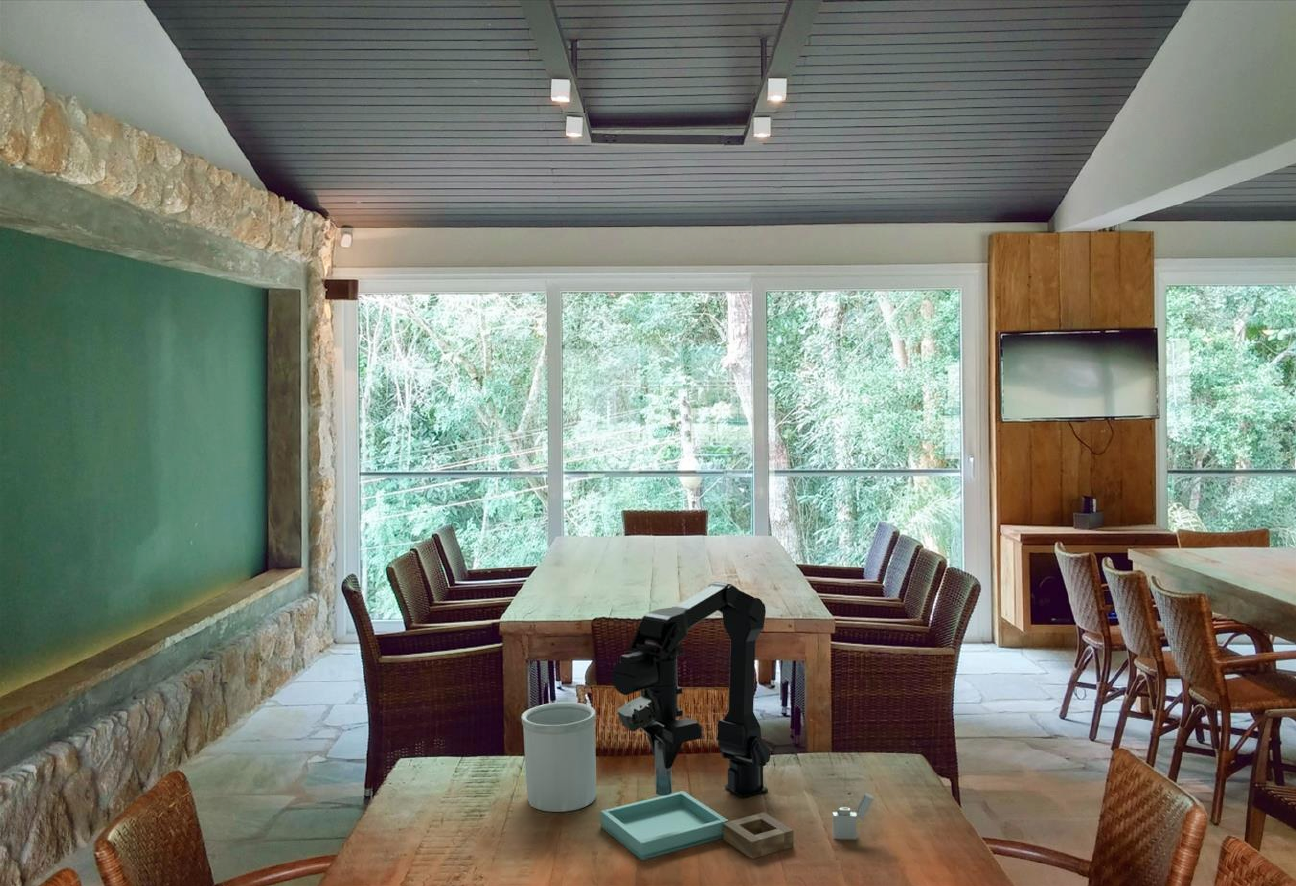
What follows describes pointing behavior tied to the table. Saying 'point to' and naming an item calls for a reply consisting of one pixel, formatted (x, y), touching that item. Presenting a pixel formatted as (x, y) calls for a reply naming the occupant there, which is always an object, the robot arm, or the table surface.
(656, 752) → the pin
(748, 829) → the pin holder
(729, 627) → the robot arm
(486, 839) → the table surface
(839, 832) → the lighter
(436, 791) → the table surface
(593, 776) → the utensil holder
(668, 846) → the tray
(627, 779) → the table surface
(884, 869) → the table surface
